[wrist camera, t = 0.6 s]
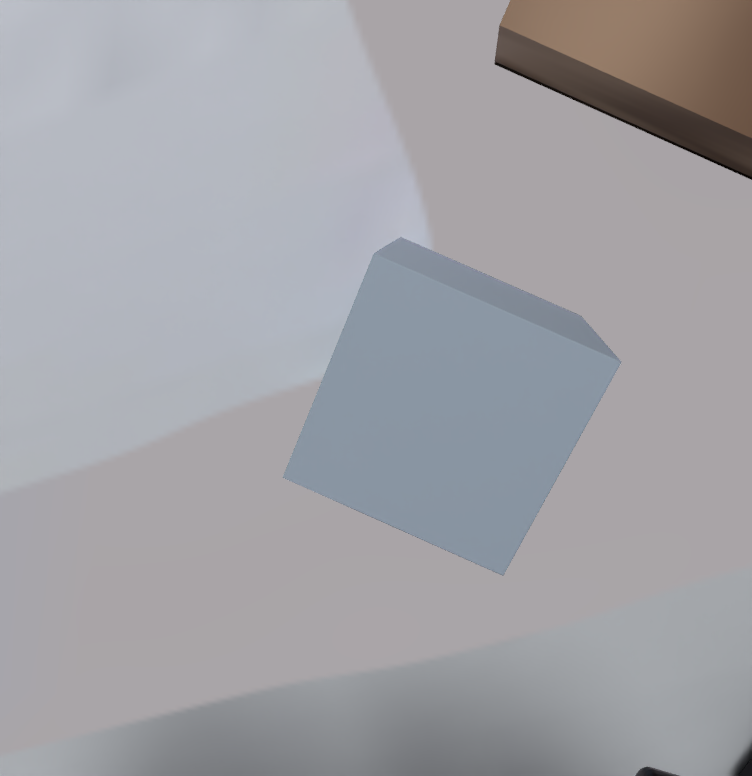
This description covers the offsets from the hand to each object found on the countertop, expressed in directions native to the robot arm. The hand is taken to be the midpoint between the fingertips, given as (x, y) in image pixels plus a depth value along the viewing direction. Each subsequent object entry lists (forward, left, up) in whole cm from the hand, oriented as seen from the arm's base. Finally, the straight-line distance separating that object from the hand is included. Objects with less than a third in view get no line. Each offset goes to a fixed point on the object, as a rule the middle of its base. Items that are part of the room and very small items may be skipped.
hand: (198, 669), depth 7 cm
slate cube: (-2, -1, -12) cm, 12 cm away
